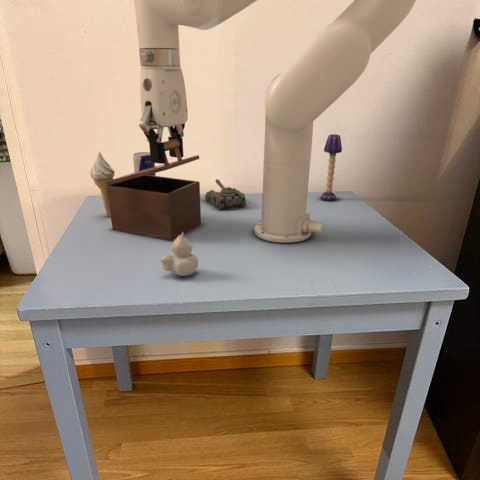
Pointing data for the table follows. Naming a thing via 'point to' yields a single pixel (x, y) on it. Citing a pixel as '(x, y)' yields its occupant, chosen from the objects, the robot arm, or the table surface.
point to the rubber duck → (180, 258)
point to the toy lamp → (331, 164)
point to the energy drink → (142, 161)
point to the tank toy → (225, 197)
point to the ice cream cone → (102, 178)
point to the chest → (155, 206)
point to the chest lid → (167, 146)
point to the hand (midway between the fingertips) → (167, 159)
